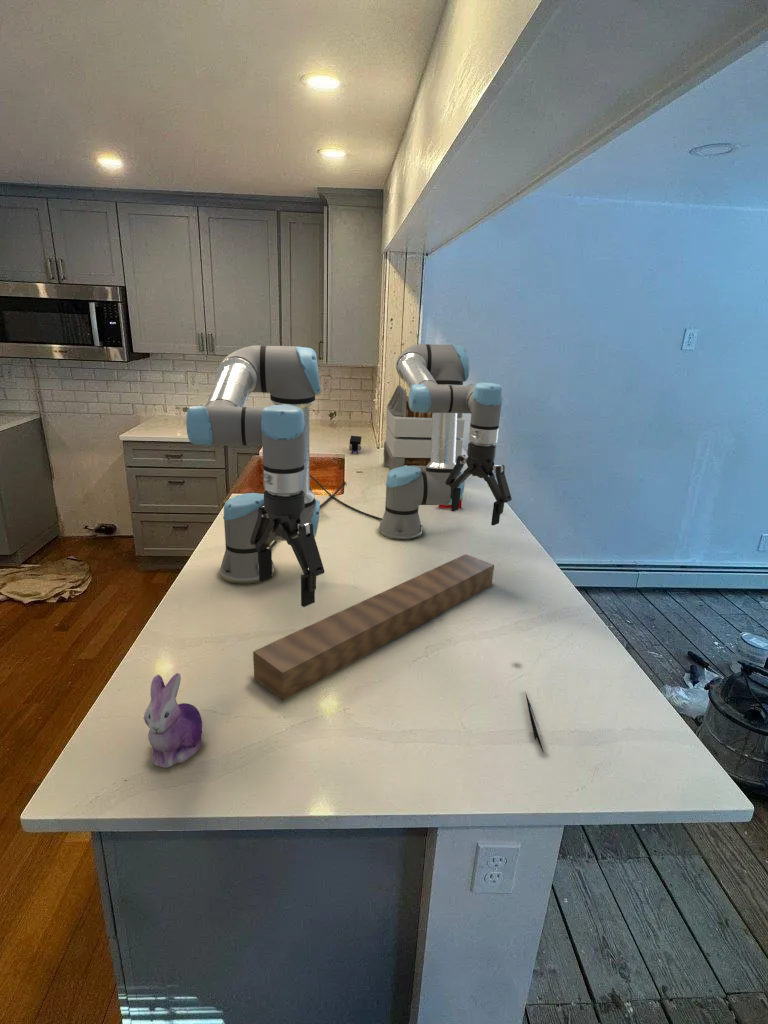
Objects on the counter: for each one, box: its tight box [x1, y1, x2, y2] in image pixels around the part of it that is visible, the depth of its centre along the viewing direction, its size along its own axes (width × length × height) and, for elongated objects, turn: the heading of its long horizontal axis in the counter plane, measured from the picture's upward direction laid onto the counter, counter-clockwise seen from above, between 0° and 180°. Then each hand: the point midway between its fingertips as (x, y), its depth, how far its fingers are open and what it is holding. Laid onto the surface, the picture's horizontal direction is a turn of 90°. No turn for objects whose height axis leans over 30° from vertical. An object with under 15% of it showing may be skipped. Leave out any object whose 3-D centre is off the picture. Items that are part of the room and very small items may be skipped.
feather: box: [525, 691, 547, 753], centre depth 115 cm, size 2×28×2 cm
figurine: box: [143, 672, 203, 768], centre depth 97 cm, size 9×10×15 cm
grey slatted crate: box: [383, 384, 465, 471], centre depth 268 cm, size 34×33×41 cm
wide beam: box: [252, 553, 495, 701], centre depth 141 cm, size 75×10×7 cm, turn 137°
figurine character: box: [348, 435, 363, 455], centre depth 309 cm, size 7×8×15 cm
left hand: (286, 591), depth 113 cm, fingers open, 13 cm apart
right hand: (474, 517), depth 158 cm, fingers open, 13 cm apart
